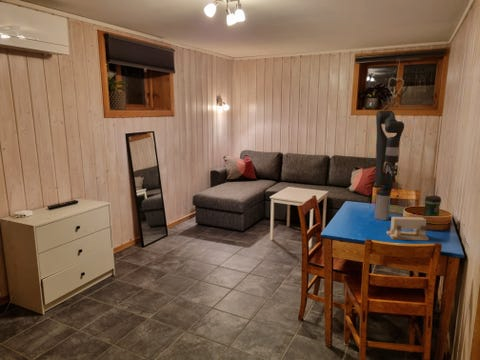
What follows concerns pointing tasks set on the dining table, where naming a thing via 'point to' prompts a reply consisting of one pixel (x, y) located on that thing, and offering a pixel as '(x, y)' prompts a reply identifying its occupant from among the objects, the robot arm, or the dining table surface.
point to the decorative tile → (396, 210)
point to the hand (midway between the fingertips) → (390, 180)
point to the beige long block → (408, 222)
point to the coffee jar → (432, 206)
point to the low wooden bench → (407, 234)
